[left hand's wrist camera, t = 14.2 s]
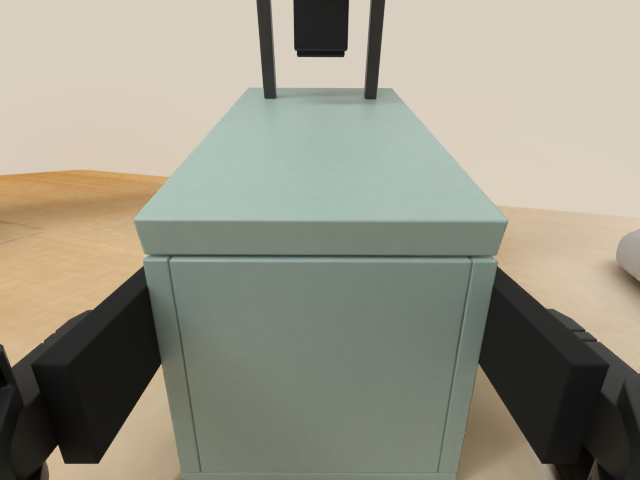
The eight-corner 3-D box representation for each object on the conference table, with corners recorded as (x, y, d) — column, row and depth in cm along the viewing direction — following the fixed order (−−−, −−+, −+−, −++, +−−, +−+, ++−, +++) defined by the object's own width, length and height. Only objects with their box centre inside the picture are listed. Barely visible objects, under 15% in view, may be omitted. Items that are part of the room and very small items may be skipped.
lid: (250, 105, 25) (234, -54, 20) (390, 106, 25) (407, -53, 20) (143, 255, 10) (-22, -235, 5) (497, 257, 10) (667, -231, 5)
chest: (259, 277, 29) (253, 167, 26) (379, 277, 29) (386, 167, 26) (183, 487, 13) (141, 259, 10) (455, 487, 13) (499, 261, 10)
